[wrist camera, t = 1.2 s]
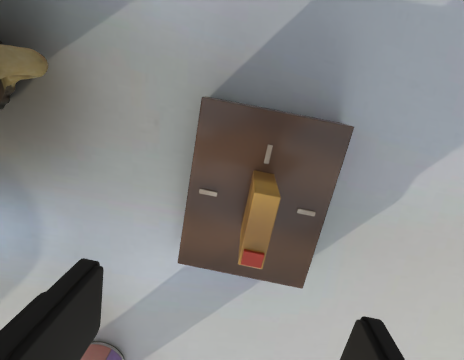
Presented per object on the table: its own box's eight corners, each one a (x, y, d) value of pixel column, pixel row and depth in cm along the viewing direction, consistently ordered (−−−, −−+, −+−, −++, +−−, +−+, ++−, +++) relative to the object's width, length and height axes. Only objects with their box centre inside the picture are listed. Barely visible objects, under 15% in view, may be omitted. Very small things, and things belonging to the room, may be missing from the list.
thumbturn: (253, 170, 21) (254, 193, 16) (274, 174, 21) (281, 199, 16) (240, 228, 22) (237, 266, 17) (260, 232, 22) (262, 271, 17)
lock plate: (208, 96, 22) (201, 96, 19) (341, 123, 22) (355, 127, 19) (185, 245, 26) (177, 264, 23) (297, 268, 26) (302, 290, 23)
